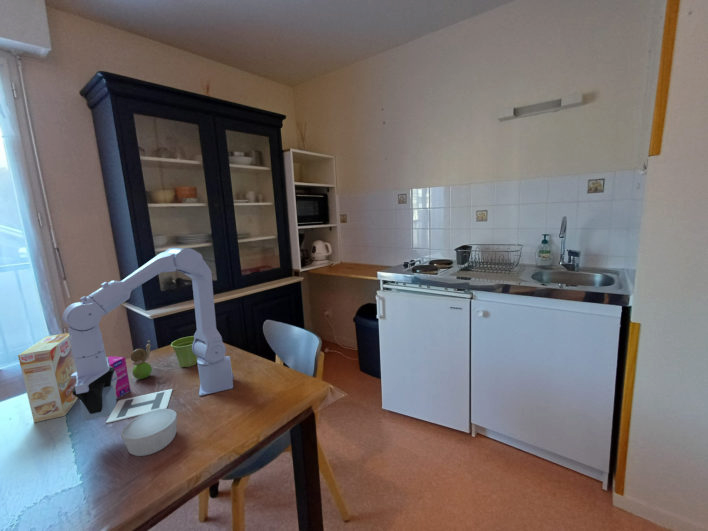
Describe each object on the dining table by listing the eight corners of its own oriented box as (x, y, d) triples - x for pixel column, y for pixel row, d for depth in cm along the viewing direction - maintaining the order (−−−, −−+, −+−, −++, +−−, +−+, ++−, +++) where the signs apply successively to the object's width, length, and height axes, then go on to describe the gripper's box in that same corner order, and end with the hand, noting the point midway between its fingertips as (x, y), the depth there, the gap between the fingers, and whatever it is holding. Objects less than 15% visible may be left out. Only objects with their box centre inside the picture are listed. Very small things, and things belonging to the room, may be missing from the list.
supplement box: (114, 401, 94) (107, 365, 92) (98, 400, 95) (90, 364, 93) (131, 390, 100) (125, 356, 98) (116, 389, 101) (109, 355, 99)
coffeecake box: (65, 416, 88) (50, 349, 85) (32, 423, 86) (15, 355, 83) (86, 389, 102) (73, 331, 99) (57, 395, 99) (44, 336, 96)
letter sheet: (172, 389, 99) (172, 388, 99) (166, 409, 89) (166, 408, 89) (118, 401, 94) (118, 400, 94) (106, 423, 84) (105, 422, 84)
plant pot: (208, 362, 117) (204, 339, 115) (180, 372, 110) (176, 349, 108) (196, 355, 123) (193, 334, 121) (170, 365, 116) (166, 342, 114)
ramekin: (127, 437, 78) (123, 418, 77) (179, 421, 83) (176, 402, 83) (121, 468, 68) (117, 446, 68) (180, 447, 74) (177, 426, 73)
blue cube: (116, 403, 81) (113, 385, 80) (110, 414, 76) (106, 395, 75) (92, 409, 79) (88, 390, 78) (84, 421, 74) (80, 401, 74)
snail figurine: (159, 374, 109) (153, 341, 107) (138, 383, 104) (132, 349, 102) (151, 371, 112) (145, 338, 110) (130, 379, 107) (124, 345, 105)
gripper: (81, 345, 80) (91, 394, 83) (52, 370, 67) (65, 428, 69) (114, 339, 83) (124, 387, 85) (93, 362, 69) (105, 419, 72)
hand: (100, 405), depth 77 cm, fingers closed on blue cube, 5 cm apart
